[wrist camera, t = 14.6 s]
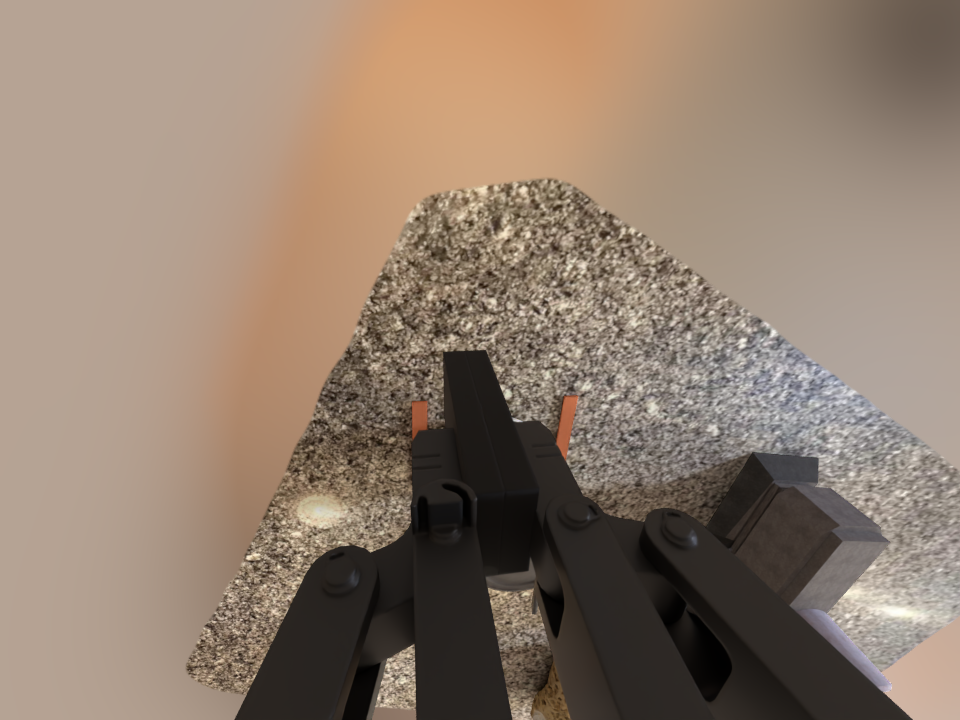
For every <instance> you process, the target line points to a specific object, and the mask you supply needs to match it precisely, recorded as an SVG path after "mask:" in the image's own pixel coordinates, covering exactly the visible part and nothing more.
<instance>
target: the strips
mask: <svg viewBox="0 0 960 720" xmlns="http://www.w3.org/2000/svg"><path fill="white" fill-rule="evenodd" d="M577 399H578V396H577V395H574V396H564V398H563V404H562V410H561V415H560V421H559V427H558V432H557V438H556V443H557V446H558V447H559V449H560V451H561V453H562V456H563V457H564V459H565V461H566V456H567V450H568V445H569V440H570V435H571V430H572V425H573V420H574V414H575V409H576V404H577ZM419 430H427V401H412V437H413V439H414V438H415V436H416V434H417V432H418V431H419Z"/></svg>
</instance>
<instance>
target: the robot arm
mask: <svg viewBox="0 0 960 720" xmlns="http://www.w3.org/2000/svg"><path fill="white" fill-rule="evenodd" d="M443 371H444V419H445V426H446V429H432V430H419V431H418V432H417V434H416V436H415V438H414V439H413V441H412V443H411V444H412V492H413V498H412V502H411V520H412V521H411V523H410V526H409V528H408V529H407V530H406V532H405V533H404V534H403V535H402V536H401V537H400V538H399V539H398V540H396V541H395V542H393V543H391V544H389V545H388V546H385V547H383V548H381V549H378V550H376V551H374V552H371V553H370V552H369V551H368V550H366V549H365V548H362V547H358V546H355V545H351V546H340V547H338V548H335V549H333V550H330V551H328V552H326V553H325V554H323V555H322V556H321V557H320V558H318V559H317V560H316V561H315V562H314V563H313V564H312V566H311V567H310V569H309V570H308V571H307V573H306V575H305V577H304V579H303V581H302V583H301V585H300V587H299V589H298V591H297V593H296V595H295V597H294V599H293V601H292V603H291V605H290V608H289V610H288V612H287V614H286V616H285V618H284V620H283V622H282V624H281V626H280V628H279V630H278V632H277V634H276V636H275V638H274V640H273V642H272V644H271V646H270V648H269V650H268V652H267V654H266V657H265V659H264V661H263V663H262V665H261V667H260V669H259V671H258V673H257V675H256V677H255V679H254V681H253V683H252V685H251V687H250V689H249V691H248V693H247V695H246V697H245V700H244V701H243V704H242V706H241V708H240V710H239V712H238V714H237V716H236V718H235V720H372V717H373V713H374V709H375V705H376V701H377V697H378V693H379V689H380V685H381V681H382V677H383V673H384V669H385V665H386V661H387V658H389V657H391V656H393V655H395V654H397V653H398V652H400V651H402V650H404V649H406V648H408V647H409V646H411V645H413V644H415V672H416V715H417V716H416V718H417V720H512V715H511V710H510V704H509V699H508V694H507V688H506V683H505V678H504V672H503V667H502V662H501V656H500V651H499V646H498V641H497V635H496V630H495V625H494V619H493V614H492V609H491V603H490V598H489V593H488V587H487V582H486V577H489V576H496V575H504V574H511V573H519V572H526V571H529V564H530V557H531V560H532V564H533V567H534V570H535V574H536V577H535V584H534V590H533V597H532V604H531V605H532V614H537V609H538V606H539V610H540V613H541V617H542V620H543V624H544V627H545V631H546V634H547V638H548V641H549V645H550V648H551V652H552V655H553V659H554V662H555V666H556V669H557V673H558V676H559V680H560V683H561V687H562V690H563V694H564V697H565V701H566V704H567V708H568V711H569V715H570V718H571V720H913V719H911V718H910V717H909V716H908V715H907V714H906V713H905V712H904V711H903V710H902V709H901V708H900V707H899V706H897V705H896V704H895V703H894V702H893V701H892V700H891V699H890V698H889V697H888V696H887V695H885V694H884V693H883V692H882V691H881V690H880V689H879V688H878V687H877V686H876V685H875V684H874V683H873V682H872V681H870V680H869V679H868V678H867V677H866V676H865V675H864V674H863V673H862V672H861V671H860V670H859V669H857V668H856V667H855V666H854V665H853V664H852V663H851V662H850V661H849V660H848V659H847V658H846V657H845V656H843V655H842V654H841V653H840V652H839V651H838V650H837V649H836V648H835V647H834V646H833V645H832V644H830V643H829V642H828V641H827V640H826V639H825V638H824V637H823V636H822V635H821V634H820V633H819V632H818V631H816V630H815V629H814V628H813V627H812V626H811V625H810V624H809V623H808V622H807V621H806V620H805V619H803V618H802V617H801V616H800V615H799V614H798V613H797V612H796V611H795V610H794V609H793V608H792V607H791V606H789V605H788V604H787V603H786V602H785V601H784V600H783V599H782V598H781V597H780V596H779V595H778V594H776V593H775V592H774V591H773V590H772V589H771V588H770V587H769V586H768V585H767V584H766V583H765V582H763V581H762V580H761V579H760V578H759V577H758V576H757V575H756V574H755V573H754V572H753V571H752V570H751V569H749V568H748V567H747V566H746V565H745V564H744V563H743V562H742V561H741V560H740V559H739V558H738V557H736V556H735V555H734V554H733V553H732V552H731V551H730V550H729V549H728V548H727V547H726V546H725V545H724V544H722V543H721V542H720V541H719V540H718V539H717V538H716V537H715V536H714V535H713V534H712V533H711V532H709V531H708V530H707V529H706V528H705V527H704V526H703V525H702V524H701V523H700V522H698V521H697V520H695V519H694V518H693V517H691V516H690V515H688V514H686V513H683V512H681V511H679V510H675V509H669V508H660V509H654V510H653V511H651V512H650V513H648V514H647V516H646V519H645V522H642V521H636V520H630V519H624V518H618V517H614V516H610V515H608V514H605V513H604V512H603V510H602V509H601V508H600V507H599V505H598V504H597V503H595V502H594V501H592V500H591V499H589V498H588V497H585V496H583V494H582V492H581V490H580V488H579V486H578V484H577V482H576V480H575V478H574V477H573V475H572V473H571V471H570V469H569V467H568V465H567V463H566V461H565V459H564V457H563V456H562V453H561V451H560V449H559V447H558V446H557V443H556V441H555V439H554V437H553V435H552V433H551V431H550V430H549V429H548V428H547V427H545V426H544V425H543V424H542V423H541V422H539V421H524V422H514V421H513V418H512V416H511V413H510V411H509V408H508V406H507V403H506V400H505V398H504V395H503V393H502V390H501V388H500V385H499V382H498V380H497V377H496V375H495V372H494V370H493V367H492V365H491V362H490V359H489V357H488V354H487V352H486V350H477V351H455V352H443Z"/></svg>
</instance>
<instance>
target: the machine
mask: <svg viewBox="0 0 960 720" xmlns="http://www.w3.org/2000/svg"><path fill="white" fill-rule="evenodd" d="M817 483H818V458H809V457H798V456H788V455H777V454H766V453H755V452H753V453H752V455H751V456H750V458H749V459H748V461H747V463H746V464H745V466H744V467H743V469H742V471H741V472H740V474H739V476H738V477H737V479H736V480H735V482H734V484H733V485H732V487H731V488H730V490H729V492H728V493H727V495H726V496H725V498H724V500H723V501H722V503H721V504H720V506H719V508H718V509H717V511H716V512H715V514H714V516H713V517H712V519H711V520H710V522H709V524H708V525H707V527H706V529H707V530H708V531H709V532H711V533H712V534H713V535H714V536H715V537H716V538H717V539H718V540H719V541H720V542H721V543H722V544H724V545H725V546H726V547H727V548H728V549H729V550H730V551H731V552H732V553H733V554H734V555H735V556H736V557H738V558H739V559H740V560H741V561H742V562H743V563H744V564H745V565H746V566H747V567H748V568H749V569H751V570H752V571H753V572H754V573H755V574H756V575H757V576H758V577H759V578H760V579H761V580H762V581H763V582H765V583H766V584H767V585H768V586H769V587H770V588H771V589H772V590H773V591H774V592H775V593H776V594H778V595H779V596H780V597H781V598H782V599H783V600H784V601H785V602H786V603H787V604H788V605H789V606H791V607H792V608H793V609H794V610H795V611H796V612H797V613H798V614H799V615H800V616H801V617H802V618H803V619H805V620H806V621H807V622H808V623H809V624H810V625H811V626H812V627H813V628H814V629H815V630H816V631H818V632H819V633H820V634H821V635H822V636H823V637H824V638H825V639H826V640H827V641H828V642H829V643H830V644H832V645H833V646H834V647H835V648H836V649H837V650H838V651H839V652H840V653H841V654H842V655H843V656H845V657H846V658H847V659H848V660H849V661H850V662H851V663H852V664H853V665H854V666H855V667H856V668H857V669H859V670H860V671H861V672H862V673H863V674H864V675H865V676H866V677H867V678H868V679H869V680H870V681H872V682H873V683H874V684H875V685H876V686H877V687H878V688H879V689H880V690H881V691H882V692H886V691H891V687H892V684H891V683H890V682H889V681H888V680H887V679H886V678H885V676H883V674H882V673H881V672H880V671H879V670H878V669H877V668H876V667H875V666H874V664H873V663H872V662H871V661H870V660H869V659H868V658H867V657H866V656H865V655H864V654H863V652H862V651H861V650H860V649H859V648H858V647H857V646H856V645H855V644H854V643H853V642H852V641H851V639H850V638H849V637H848V636H847V635H846V634H845V633H844V632H843V631H842V630H841V629H840V627H839V626H838V625H837V624H836V623H835V622H834V621H833V620H832V619H831V618H830V617H829V616H828V614H827V613H828V612H829V610H830V609H831V608H832V607H833V606H834V605H835V604H836V603H837V602H838V600H839V599H840V598H841V597H842V596H843V595H844V594H845V593H846V592H847V590H848V589H849V588H850V587H851V586H852V585H853V584H854V583H855V582H856V580H857V579H858V578H859V577H860V576H861V575H862V574H863V573H864V571H865V570H866V569H867V568H868V567H869V566H870V565H871V564H872V563H873V561H874V560H875V559H876V558H877V557H878V556H879V555H880V554H881V553H882V551H883V550H884V549H885V548H886V547H887V546H888V545H889V544H890V543H891V542H890V541H888V540H887V539H886V538H885V537H883V536H882V534H881V527H880V526H878V525H877V524H876V523H874V522H873V521H872V520H871V519H869V518H868V517H867V516H866V515H864V514H863V513H862V512H860V511H859V510H858V509H857V508H855V507H854V506H853V505H851V504H850V503H849V502H848V501H846V500H845V499H844V498H843V497H841V496H840V495H839V494H837V493H836V492H835V491H834V490H832V489H831V488H820V487H815V486H816V485H817Z"/></svg>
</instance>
